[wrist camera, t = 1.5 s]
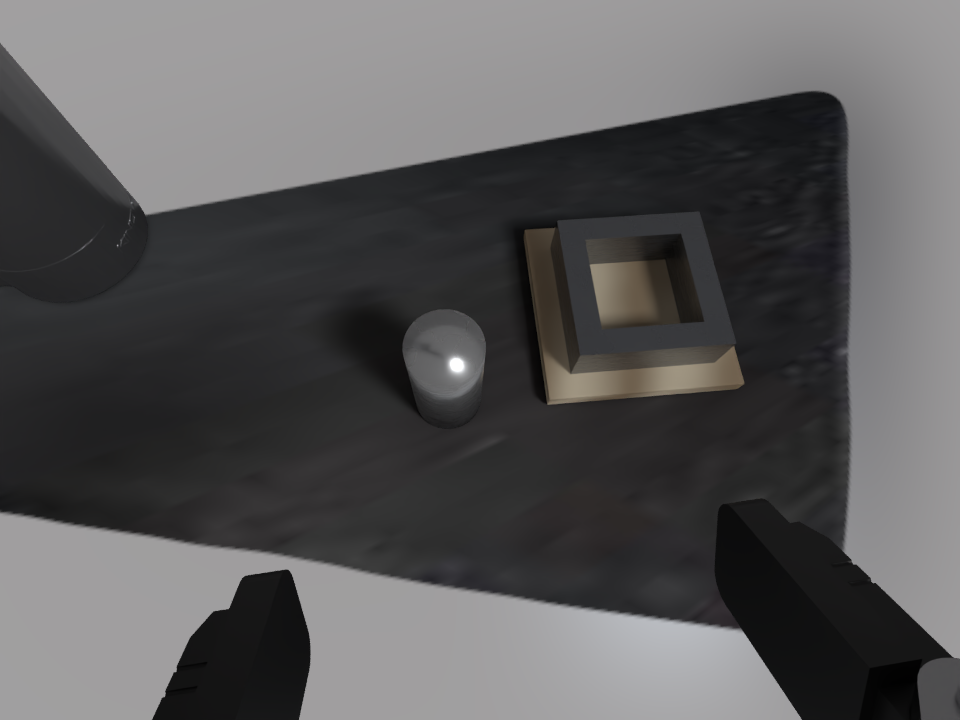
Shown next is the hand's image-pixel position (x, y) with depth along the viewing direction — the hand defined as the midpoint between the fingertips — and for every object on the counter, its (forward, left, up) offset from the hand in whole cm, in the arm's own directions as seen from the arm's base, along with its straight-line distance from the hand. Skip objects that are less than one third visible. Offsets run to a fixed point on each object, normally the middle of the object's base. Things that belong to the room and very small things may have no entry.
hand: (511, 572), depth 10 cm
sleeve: (+11, +16, -21) cm, 28 cm away
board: (+11, +16, -22) cm, 29 cm away
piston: (-1, +11, -22) cm, 24 cm away
